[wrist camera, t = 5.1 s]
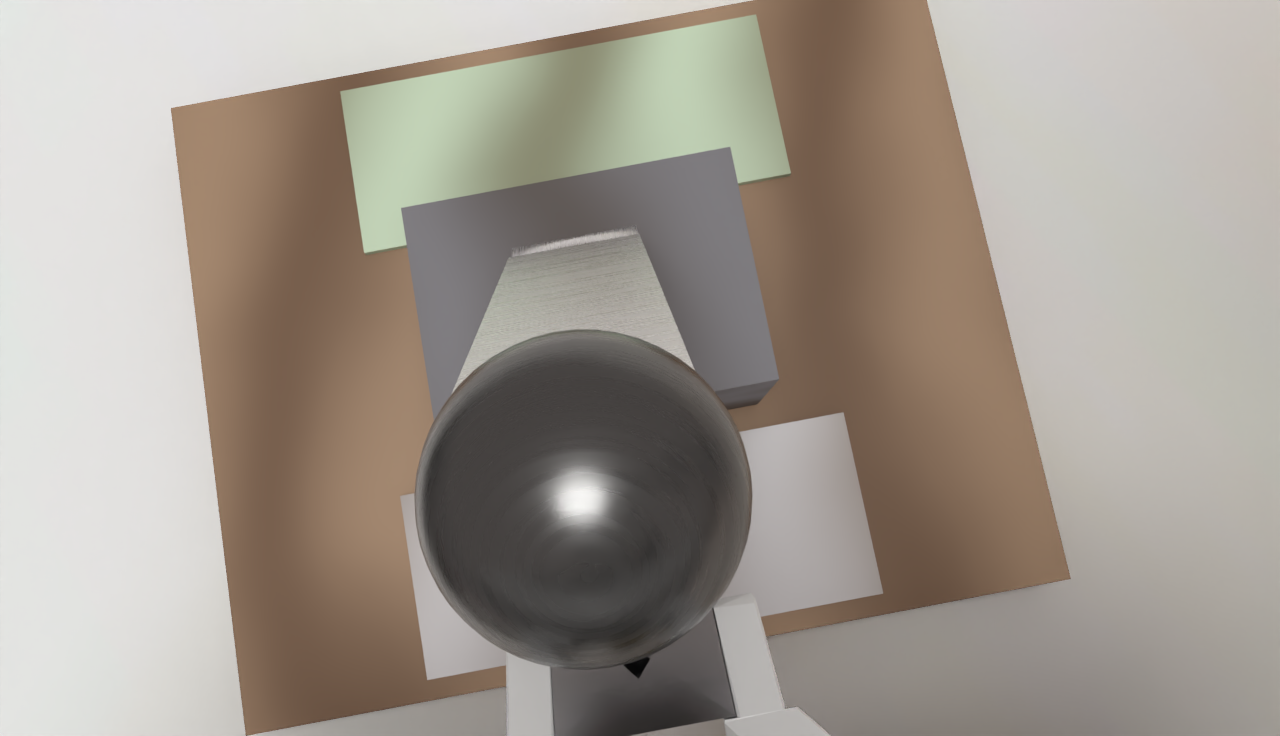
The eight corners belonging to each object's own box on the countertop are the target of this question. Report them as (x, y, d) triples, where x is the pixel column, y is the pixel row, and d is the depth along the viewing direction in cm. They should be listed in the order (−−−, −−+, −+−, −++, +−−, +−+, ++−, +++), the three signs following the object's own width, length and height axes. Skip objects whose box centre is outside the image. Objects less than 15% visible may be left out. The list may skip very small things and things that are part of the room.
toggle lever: (642, 182, 19) (753, 349, 7) (667, 328, 20) (806, 706, 8) (492, 210, 19) (338, 427, 7) (523, 355, 20) (436, 776, 8)
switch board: (904, -1, 27) (973, -145, 21) (1046, 574, 25) (1166, 593, 19) (197, 130, 27) (68, 22, 21) (270, 722, 25) (148, 787, 19)
